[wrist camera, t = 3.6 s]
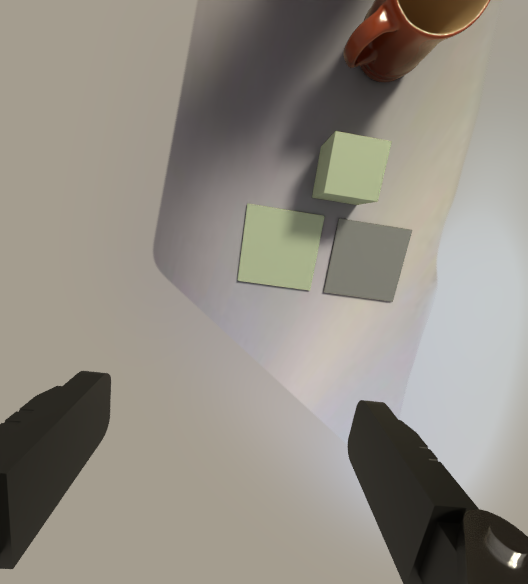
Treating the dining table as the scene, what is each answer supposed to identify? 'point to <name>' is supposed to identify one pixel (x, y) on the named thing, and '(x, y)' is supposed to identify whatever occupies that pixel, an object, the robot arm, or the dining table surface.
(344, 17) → the dining table surface
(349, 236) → the grey pad
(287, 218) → the sage pad
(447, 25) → the mug
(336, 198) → the pale green cube
